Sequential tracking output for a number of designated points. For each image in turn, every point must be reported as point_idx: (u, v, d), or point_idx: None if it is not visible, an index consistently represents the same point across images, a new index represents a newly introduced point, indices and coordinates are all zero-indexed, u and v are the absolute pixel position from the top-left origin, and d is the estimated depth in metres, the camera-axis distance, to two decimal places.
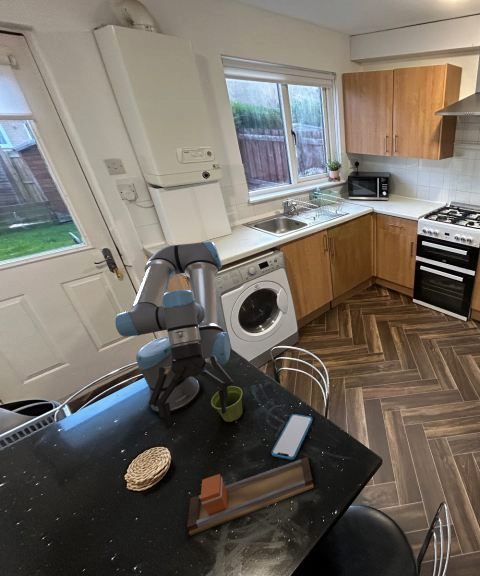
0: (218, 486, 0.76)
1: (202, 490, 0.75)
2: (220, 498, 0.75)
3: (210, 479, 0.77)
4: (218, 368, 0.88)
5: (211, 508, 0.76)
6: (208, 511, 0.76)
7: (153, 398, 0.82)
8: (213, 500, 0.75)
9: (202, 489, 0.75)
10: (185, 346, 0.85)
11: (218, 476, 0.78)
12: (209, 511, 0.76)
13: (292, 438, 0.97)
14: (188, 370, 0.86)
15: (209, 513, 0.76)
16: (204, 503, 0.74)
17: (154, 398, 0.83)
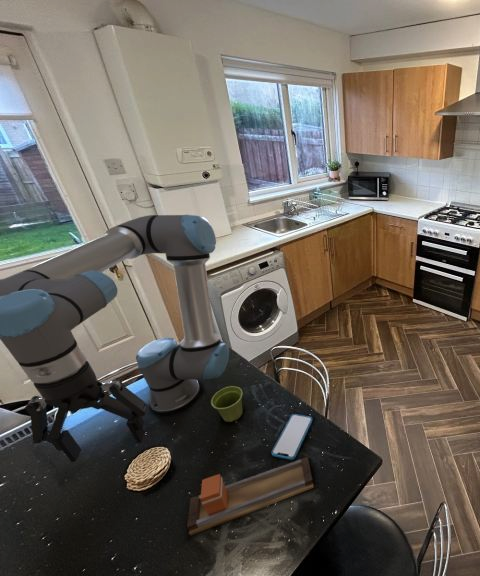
0: (218, 486, 0.76)
1: (202, 490, 0.75)
2: (220, 498, 0.75)
3: (210, 479, 0.77)
4: (123, 399, 0.63)
5: (211, 508, 0.76)
6: (208, 511, 0.76)
7: (36, 436, 0.59)
8: (213, 500, 0.75)
9: (202, 489, 0.75)
10: (58, 385, 0.54)
11: (218, 476, 0.78)
12: (209, 511, 0.76)
13: (292, 438, 0.97)
14: (76, 402, 0.59)
15: (209, 513, 0.76)
16: (204, 503, 0.74)
17: (39, 436, 0.59)
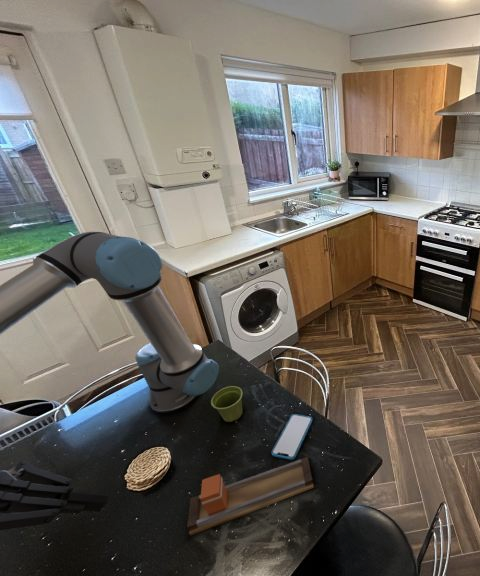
0: (218, 486, 0.76)
1: (202, 490, 0.75)
2: (220, 498, 0.75)
3: (210, 479, 0.77)
4: None
5: (211, 508, 0.76)
6: (208, 511, 0.76)
7: None
8: (213, 500, 0.75)
9: (202, 489, 0.75)
10: None
11: (218, 476, 0.78)
12: (209, 511, 0.76)
13: (292, 438, 0.97)
14: None
15: (209, 513, 0.76)
16: (204, 503, 0.74)
17: None
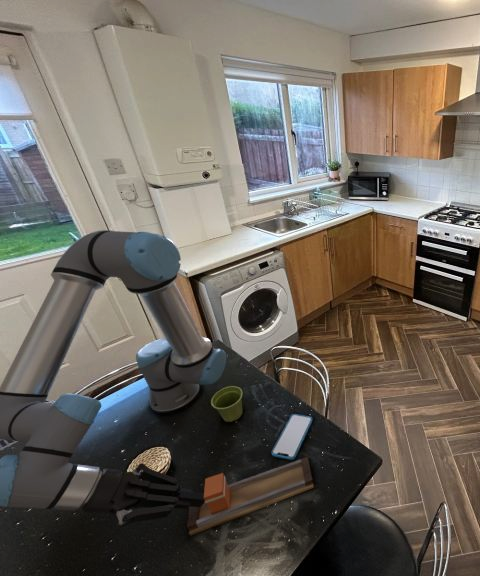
0: (221, 485, 0.76)
1: (205, 489, 0.75)
2: (223, 497, 0.76)
3: (213, 478, 0.77)
4: None
5: (214, 507, 0.76)
6: (211, 510, 0.76)
7: None
8: (216, 499, 0.75)
9: (205, 488, 0.75)
10: None
11: (221, 475, 0.78)
12: (212, 510, 0.76)
13: (292, 438, 0.97)
14: None
15: (212, 512, 0.77)
16: (207, 502, 0.74)
17: None
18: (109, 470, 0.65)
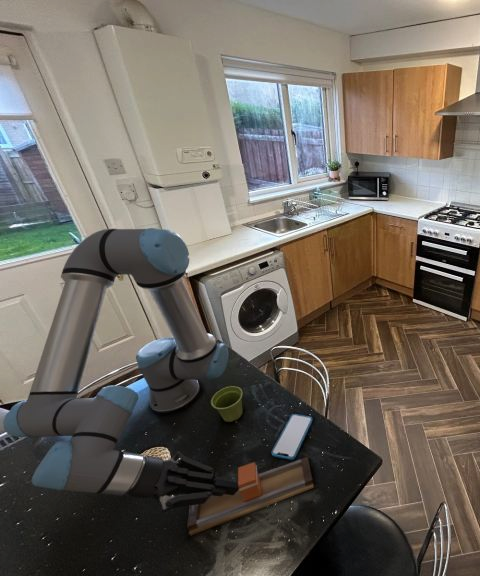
0: (254, 473, 0.78)
1: (239, 477, 0.77)
2: (256, 485, 0.78)
3: (246, 467, 0.80)
4: None
5: (247, 495, 0.79)
6: (244, 498, 0.79)
7: None
8: (249, 487, 0.78)
9: (239, 476, 0.78)
10: None
11: (253, 464, 0.80)
12: (245, 498, 0.79)
13: (292, 438, 0.97)
14: None
15: (245, 500, 0.79)
16: (241, 490, 0.77)
17: None
18: (151, 457, 0.68)
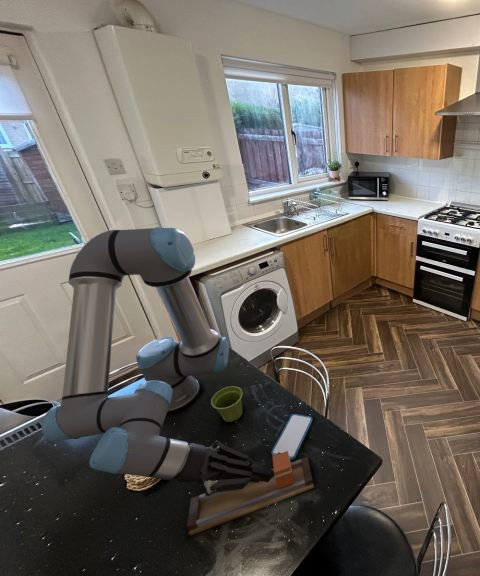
0: (288, 461, 0.81)
1: (274, 465, 0.80)
2: (290, 473, 0.81)
3: (279, 455, 0.83)
4: None
5: (281, 483, 0.82)
6: (278, 485, 0.82)
7: None
8: (284, 474, 0.80)
9: (274, 464, 0.81)
10: None
11: (286, 453, 0.83)
12: (279, 485, 0.82)
13: (292, 438, 0.97)
14: None
15: (279, 487, 0.82)
16: (276, 477, 0.80)
17: None
18: (195, 444, 0.71)
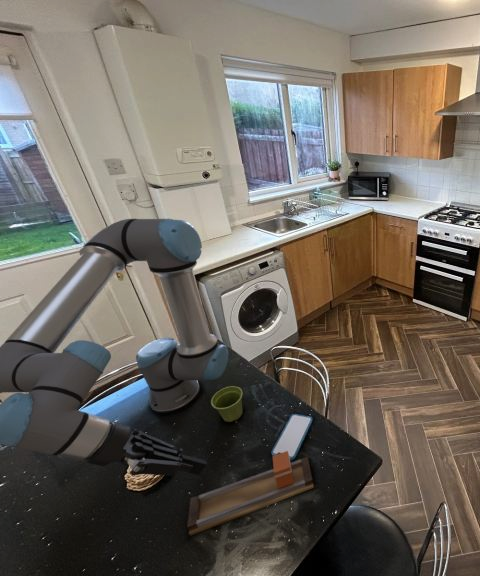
0: (288, 461, 0.81)
1: (274, 465, 0.80)
2: (290, 473, 0.81)
3: (279, 455, 0.83)
4: None
5: (281, 483, 0.82)
6: (278, 485, 0.82)
7: None
8: (284, 474, 0.80)
9: (274, 464, 0.81)
10: None
11: (286, 453, 0.83)
12: (279, 485, 0.82)
13: (292, 438, 0.97)
14: None
15: (279, 487, 0.82)
16: (276, 477, 0.80)
17: None
18: (116, 422, 0.63)
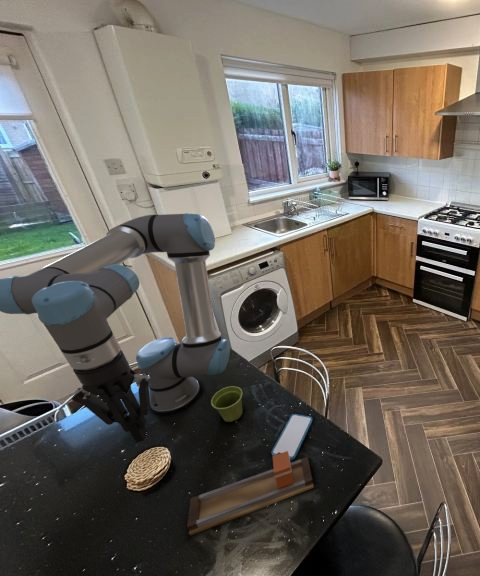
0: (288, 461, 0.81)
1: (274, 465, 0.80)
2: (290, 473, 0.81)
3: (279, 455, 0.83)
4: (143, 395, 0.66)
5: (281, 483, 0.82)
6: (278, 485, 0.82)
7: (105, 419, 0.65)
8: (284, 474, 0.80)
9: (274, 464, 0.81)
10: (96, 372, 0.58)
11: (286, 453, 0.83)
12: (279, 485, 0.82)
13: (292, 438, 0.97)
14: (110, 389, 0.63)
15: (279, 487, 0.82)
16: (276, 477, 0.80)
17: (107, 418, 0.65)
18: None
